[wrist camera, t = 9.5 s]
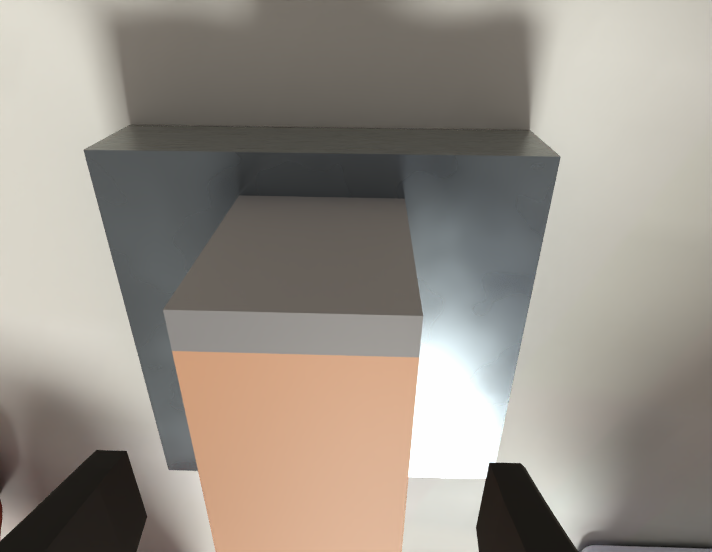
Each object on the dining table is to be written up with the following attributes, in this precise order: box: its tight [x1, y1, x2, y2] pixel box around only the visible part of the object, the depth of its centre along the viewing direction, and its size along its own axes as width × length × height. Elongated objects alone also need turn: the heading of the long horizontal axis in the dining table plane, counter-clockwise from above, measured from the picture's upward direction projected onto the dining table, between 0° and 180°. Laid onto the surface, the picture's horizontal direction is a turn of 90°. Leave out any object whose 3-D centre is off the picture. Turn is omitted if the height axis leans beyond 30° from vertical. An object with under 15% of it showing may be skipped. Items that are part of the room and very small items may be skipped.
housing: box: [163, 195, 423, 552], centre depth 12 cm, size 9×4×5 cm, turn 0°
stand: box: [84, 125, 560, 479], centre depth 15 cm, size 11×11×2 cm
